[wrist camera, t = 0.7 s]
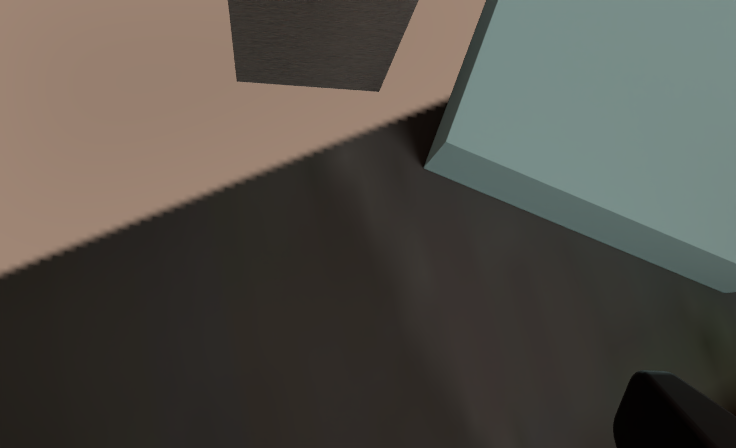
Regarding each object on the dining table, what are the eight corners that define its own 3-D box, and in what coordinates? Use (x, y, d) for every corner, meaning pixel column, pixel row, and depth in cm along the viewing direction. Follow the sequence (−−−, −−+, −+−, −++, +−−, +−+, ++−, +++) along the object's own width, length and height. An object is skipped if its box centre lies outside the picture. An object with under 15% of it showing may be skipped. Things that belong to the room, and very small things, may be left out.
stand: (724, 293, 24) (787, 285, 21) (423, 167, 23) (445, 141, 20) (791, 19, 27) (855, -22, 24) (524, -102, 26) (556, -159, 23)
